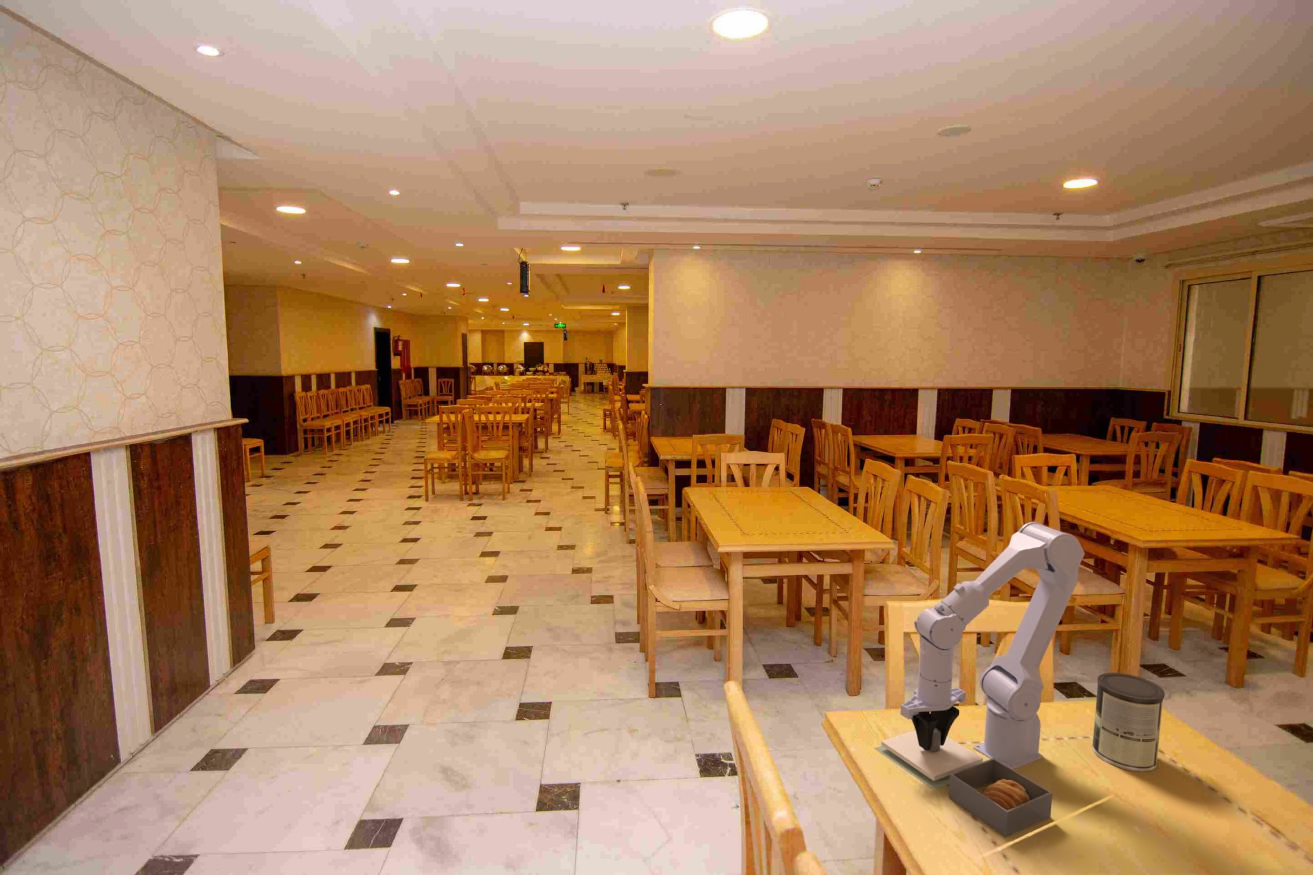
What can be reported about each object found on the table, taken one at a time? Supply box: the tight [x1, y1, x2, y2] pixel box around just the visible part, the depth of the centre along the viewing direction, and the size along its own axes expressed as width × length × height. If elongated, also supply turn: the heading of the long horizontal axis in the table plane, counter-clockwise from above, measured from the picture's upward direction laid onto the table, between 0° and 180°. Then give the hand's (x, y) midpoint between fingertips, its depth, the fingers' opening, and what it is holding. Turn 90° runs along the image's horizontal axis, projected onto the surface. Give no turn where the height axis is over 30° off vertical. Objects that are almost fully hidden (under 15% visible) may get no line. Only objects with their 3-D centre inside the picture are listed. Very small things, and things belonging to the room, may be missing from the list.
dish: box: [948, 758, 1053, 838], centre depth 114 cm, size 11×11×5 cm
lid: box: [880, 728, 984, 781], centre depth 128 cm, size 12×12×4 cm
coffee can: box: [1091, 672, 1166, 773], centre depth 129 cm, size 10×10×14 cm
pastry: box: [981, 779, 1031, 810], centre depth 114 cm, size 9×7×4 cm
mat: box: [874, 745, 950, 791], centre depth 128 cm, size 14×14×1 cm
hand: (931, 745), depth 128 cm, fingers closed on lid, 3 cm apart
